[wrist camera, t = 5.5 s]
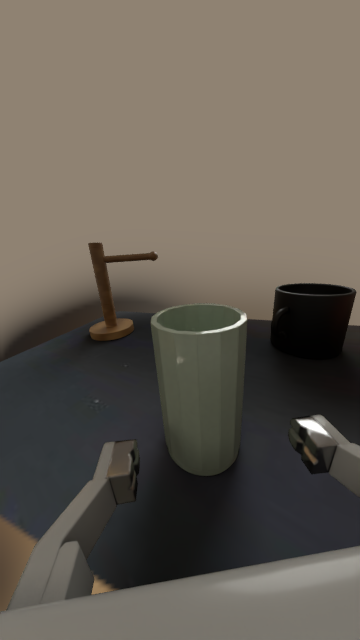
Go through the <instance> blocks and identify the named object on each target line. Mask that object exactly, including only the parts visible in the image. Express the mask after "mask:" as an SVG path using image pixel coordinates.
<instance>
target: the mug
mask: <svg viewBox="0 0 360 640" xmlns="http://www.w3.org/2000/svg"><path fill="white" fill-rule="evenodd" d="M355 295H356V290H355V289H352V288H349V287H345V286H339V285H331V284H313V283H311V284H310V283H303V284H302V283H300V284H287V285H282V286H278V287H277V288H276V290H275V300H274V309H273V319H272V323H271V338H270V339H271V342H272V344H273V345H274V346H275V347H276V348H278V349H280V350H281V351H284V352H286V353H289V354H291V355H295V356H299V357H303V358H310V359H328V358H333V357H336V356H337V355H339V354H340V353H341V351H342V347H343V343H344V339H345V335H346V331H347V327H348V323H349V319H350V315H351V311H352V307H353V303H354V299H355Z"/></svg>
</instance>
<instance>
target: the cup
mask: <svg viewBox="0 0 360 640" xmlns="http://www.w3.org/2000/svg"><path fill="white" fill-rule="evenodd" d="M151 329H152V337H153V345H154V353H155V361H156V369H157V376H158V384H159V392H160V400H161V408H162V416H163V424H164V431H165V439H166V444H167V448H168V451H169V454H170V456H171V457H172V459H173V460H174V461H175V463H176V464H177V465H178V466H179V467H181V468H182V469H183V470H185V471H187V472H189V473H192V474H194V475H199V476H212V475H216V474H219V473H221V472H223V471H225V470H226V469H228V468H229V467H230V466H231V465H232V464H233V463H234V461H235V460H236V458H237V455H238V453H239V448H240V439H241V422H242V404H243V387H244V370H245V352H246V335H247V314H246V313H244V312H243V311H242V310H240V309H238V308H235V307H231V306H228V305H220V304H205V303H203V304H202V303H199V304H186V305H180V306H175V307H170V308H167V309H164V310H162V311H159V312H158V313H156V314H155V315H154V316H152V318H151Z"/></svg>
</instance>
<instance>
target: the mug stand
mask: <svg viewBox="0 0 360 640" xmlns="http://www.w3.org/2000/svg"><path fill="white" fill-rule="evenodd" d="M88 245H89V250H90V254H91V259H92V264H93V268H94V273H95V278H96V282H97V287H98V291H99V296H100V300H101V305H102V310H103V314H104V320H105V321H103V322H100V323H97V324H95V325H93V326H92V327H91V328H90V329H89V331H90V335H91V338H92V339H94V340H98V341H107V340H114V339H118V338H121V337H124V336H126V335H128V334H130V333H131V332H133V330H134V325H133V321H132V320H129V319H116V313H115V308H114V303H113V298H112V293H111V287H110V282H109V277H108V272H107V266H106V263H111V262H124V261H138V260H152V261H154V260H156V259H157V258H158V256H157V253H156V252H151V253H146V254H132V255H117V256H104V251H103V245H102V243H89V244H88Z"/></svg>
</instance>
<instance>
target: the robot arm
mask: <svg viewBox="0 0 360 640" xmlns="http://www.w3.org/2000/svg"><path fill="white" fill-rule="evenodd" d="M290 425H291V426H292V427H291V428H290V429H289V432H288V437H289V441H290V443H291V445H292V447H293V448H294V450H295V451H296V452H298V453H299V454H301V460H302V461H303V463H304V464H305V466H306V467H307V469H308V470H309V471H310V473H311V474H319V473H328V472H329V474H330V475H331V476H333V477H334V478H335V479H336V480H338V481H339V482H340V483H342V484H343V485H344V486H345V487H347V488H348V489H349V490H350V491H352V492H353V493H354V494H356V495H357V496H358V497H359V498H360V446H358V445H356V444H354V443H350V442H349V441H348V440H347V439H346V438H345V437H344V436H343V435H342V434H341V433H340V432H338V431H337V430H336V429H335V428H334V427H333V426H332V425H331V424H330V423H329V422H328V421H327V420H326V419H325V418H324V417H323V416H321V415H314V416H305V417H298V418H292V419H291V421H290ZM139 468H140V455H139V450H138V449H137V440H136V439H134V440H124V441H115V442H106V443H105V444H104V446H103V448H102V452H101V455H100V458H99V461H98V464H97V468H96V471H95V474H94V477H93V480H92V481H89V482H88V483H87V484H86V485H85V487H84V488H83V489H82V490H81V491H80V493H79V494H78V495H77V496H76V497H75V498H74V500H73V501H72V502H71V503H70V504H69V506H68V507H67V508H66V509H65V510H64V512H63V513H62V514H61V515H60V516H59V518H58V519H57V520H56V521H55V522H54V524H53V525H52V526H51V527H50V528H49V530H48V531H47V532H46V533H45V534H44V535H43V537H42V538H41V539H40V540H39V541H38V543H37V544H36V545H35V546H34V549H33V551H32V554H31V556H30V558H29V560H28V562H27V564H26V567H25V569H24V571H23V574H22V576H21V578H20V580H19V583H18V585H17V587H16V589H15V592H14V594H13V596H12V599H11V601H10V603H9V605H8V608H7V610H6V611H1V612H0V640H360V546H356V547H350V548H345V549H339V550H334V551H328V552H323V553H318V554H312V555H307V556H301V557H296V558H290V559H285V560H279V561H274V562H268V563H263V564H257V565H252V566H247V567H241V568H236V569H230V570H225V571H219V572H214V573H208V574H203V575H197V576H192V577H187V578H181V579H176V580H170V581H165V582H159V583H154V584H148V585H143V586H138V587H132V588H127V589H121V590H116V591H110V592H105V593H99V594H95V595H91V593H92V588H93V583H94V577H93V574H92V572H91V570H90V568H89V565H88V563H87V561H86V560H87V558H88V556H89V555H90V553H91V551H92V549H93V547H94V546H95V544H96V542H97V540H98V539H99V537H100V535H101V533H102V532H103V530H104V528H105V526H106V525H107V523H108V521H109V519H110V517H111V516H112V514H113V512H114V510H115V509H116V507H117V505H119V504H124V503H129V502H135V501H136V496H137V487H138V482H137V475H138V474H139Z"/></svg>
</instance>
